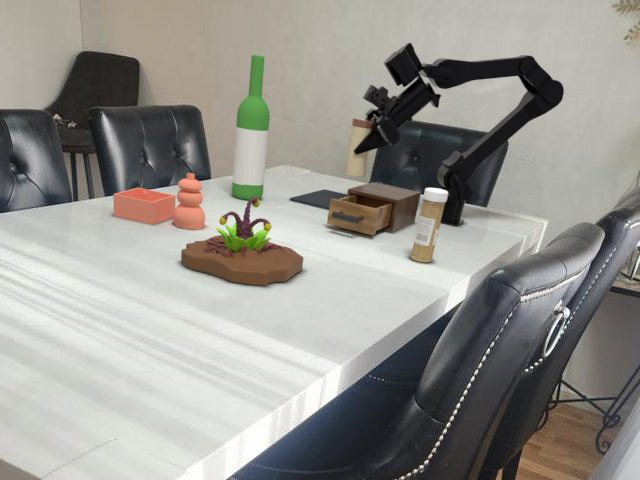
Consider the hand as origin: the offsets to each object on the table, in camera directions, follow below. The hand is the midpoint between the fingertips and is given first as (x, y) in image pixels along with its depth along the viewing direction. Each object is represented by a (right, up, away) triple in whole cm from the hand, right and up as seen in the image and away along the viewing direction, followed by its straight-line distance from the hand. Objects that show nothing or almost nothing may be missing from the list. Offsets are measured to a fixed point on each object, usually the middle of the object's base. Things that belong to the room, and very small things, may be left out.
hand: (353, 151), depth 156 cm
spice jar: (+11, -34, -23) cm, 43 cm away
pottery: (-42, -25, -21) cm, 53 cm away
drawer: (0, -22, -9) cm, 23 cm away
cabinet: (+7, -17, +1) cm, 18 cm away
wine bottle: (-26, -8, +7) cm, 28 cm away
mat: (-2, -7, +14) cm, 16 cm away
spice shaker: (+1, -4, +3) cm, 5 cm away
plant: (-24, -41, -40) cm, 62 cm away
